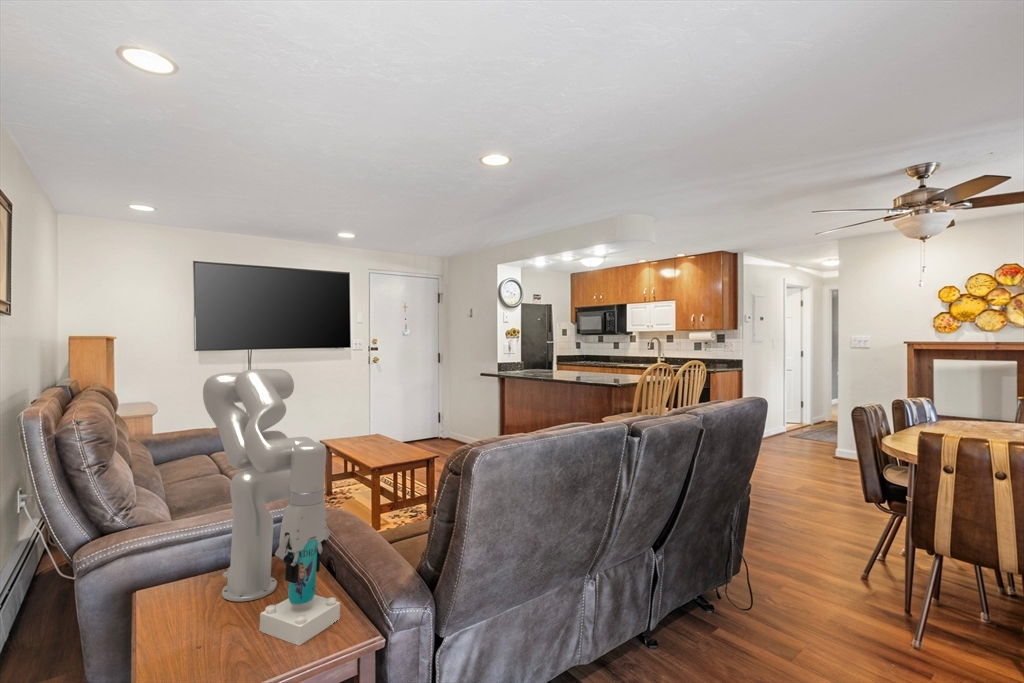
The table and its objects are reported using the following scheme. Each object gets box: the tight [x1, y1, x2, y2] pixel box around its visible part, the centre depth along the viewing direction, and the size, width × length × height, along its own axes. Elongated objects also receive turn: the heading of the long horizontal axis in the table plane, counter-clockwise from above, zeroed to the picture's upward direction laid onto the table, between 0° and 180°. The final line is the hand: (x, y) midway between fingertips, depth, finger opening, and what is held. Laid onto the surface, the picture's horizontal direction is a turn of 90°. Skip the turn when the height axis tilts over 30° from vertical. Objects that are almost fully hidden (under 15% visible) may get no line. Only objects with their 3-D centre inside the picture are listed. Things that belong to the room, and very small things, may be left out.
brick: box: [258, 594, 341, 647], centre depth 116 cm, size 12×12×5 cm
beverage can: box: [287, 537, 318, 607], centre depth 116 cm, size 6×6×15 cm
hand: (302, 575), depth 116 cm, fingers closed on beverage can, 5 cm apart
